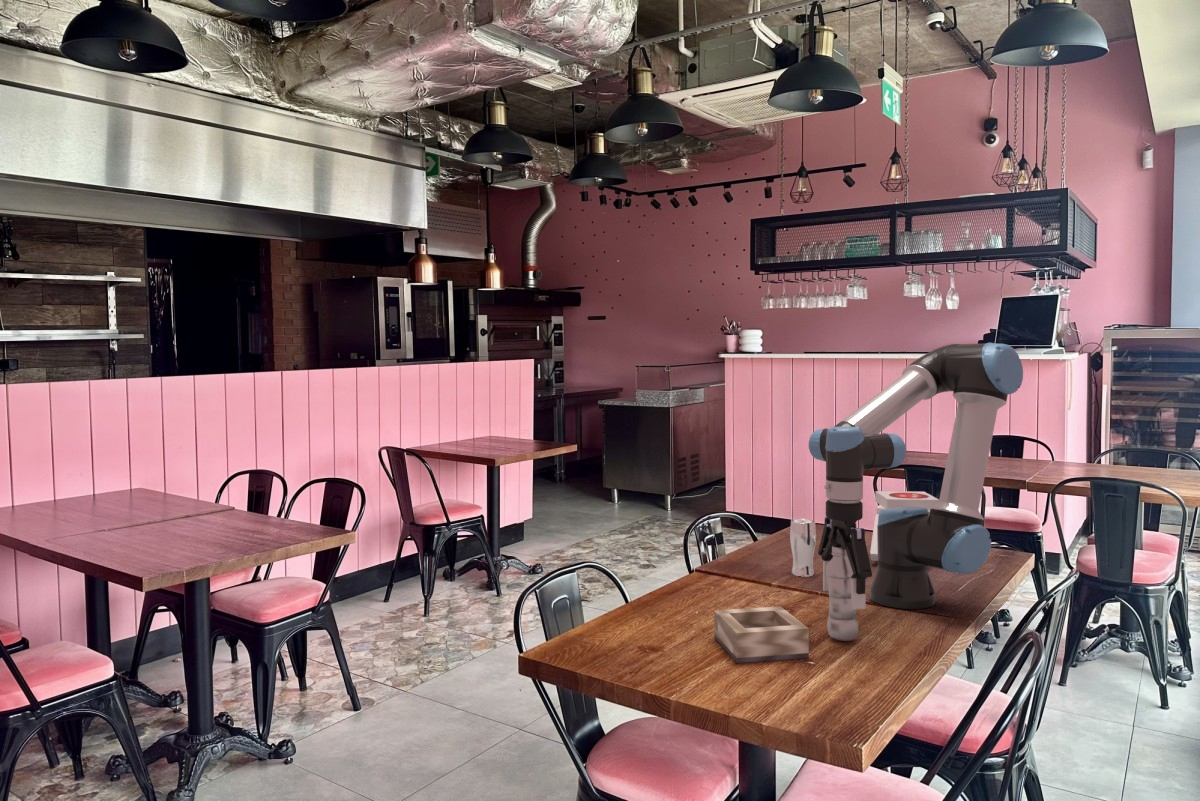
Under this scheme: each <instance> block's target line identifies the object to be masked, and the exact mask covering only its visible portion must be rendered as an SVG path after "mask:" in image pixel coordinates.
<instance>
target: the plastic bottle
mask: <svg viewBox="0 0 1200 801" xmlns="http://www.w3.org/2000/svg"><path fill="white" fill-rule="evenodd" d="M832 555H833V558H832V559H831V560H830V562H829V563H828V565H827V567H826V575H827V582H828V589H829V591H828V596H829V597H828V599H829V603H828V616H827V622H826V627H827V634H828V635H829V637H830V638H831V639H834V640H836V641H841V642H842V641H843V642H848V641H854V640H856V639H857V637H858V636H859V629H860V628H859V621H858V618H857V613H856V612H857V609H852V608H851V588H852V578H851V576H852V575H853V571H852V568H851V565H850V562H849V559H848V556H847V552H846V550H845V549H844V548H843V547H842V545H833V546H832Z"/></svg>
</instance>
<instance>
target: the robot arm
mask: <svg viewBox="0 0 1200 801" xmlns="http://www.w3.org/2000/svg"><path fill="white" fill-rule="evenodd" d="M1023 368H1024V367H1023V362H1022V360H1021V358H1020V356H1019V354H1018V352H1017V351H1016V349H1014V348H1013V347H1012V346H1011V345H1009V344H1005V343H994V342H987V343H986V342H985V343H951V344H947V345H943V346H940V347H937V348H935V349H933V350H931V351H929V352H927V353H925V354H923V355H922V356H920V357H918V358H917V359H916V360H914V361H912V362H911V363H910V364H909V365H907V366H906V367H904V369H902V370H903V371H902V372H901V376H900V377H898V378H897V379H895V380H894V381H893V382H892V383H889V385H888V386H886V387H884V388H883V389H882V390H881V391H879V392H878V393H876V394H875V395H874V396H873V397H872V398H870V399H869V400H868V401H866V402H865V403H863V404H862V405H860V406H859V407H858V408H857V409H856V410H855V411H853V412H852V413H850V414H849V415H848V416H846V417H845V418H844V419H843V420H841V421H840V422H838V423H837V424H836V425H834V426H832V427H829V428H818V429H816V430H815V431H813V432H812V433H811V435H810V436H809V440H808V450H809V453H810V455H811V456H812V457H813V458H814V459H815V460H819V461H822V462H825V485H824V487H823V488H824V489H825V497H826V498H827V500H826V501H825V517H824V525H823V530H822V534H821V539H820V543H819V546H818V552H817V554H818V556H821V560H822V561H823V562H822V591H823V592H829V589H828V582H827V575H826V567H827V565H828V563H829V562H830V560H831V559H832V558H833V555H832V546H833V545H842V547H843V548H844V549H845V550H846V552H847V556H848V559H849V562H850V565H851V568H852V571H853V575H852V576H851V578H852V588H851V608H852V609H856V610H865V609H866V590H867V589H866V588H867V587H866V585H867V584H866V582H867V581H866V578H872V577H873V580H872V583H871V586H870V589H869V599H870V600H871V601H872V602H874V603H876V604H879V605H882V606H886V607H889V608H895V609H903V610H904V609H905V610H906V609H907V610H919V609H928V608H930V607H931V608H932V607H933V606H935V604H936V594H935V591H934V587H933V583H932V579H931V577H930V574H929V570H928V569H929V568H928V567H932V568H935V569H939V570H943V571H946V572H949V573H953V574H955V573H956V574H962V575H969V574H972V573H975V572H977V571H978V570H979V569H980V568H982V567H983V565H984V564H985V562H986V561H987V560H988V557H989V555H990V552H991V550H992V549H991V548H992V539H991V538H990V537H991V535H990V532H989V531H988V529H987V528H986V527H984V520H985V518H984V517H983V515H982V514H981V513H980V510H979V508H980V502H981V498H982V492H983V488H984V483H985V477H986V473H987V472H986V471H987V466H988V463H989V462H988V461H989V457H990V452H991V446H992V440H993V435H994V431H995V425H996V419H997V415H998V411H999V409H1001V408H1002V407H1004V406H1005V405H1006V404H1007V402H1008V401H1007V400H1008V396H1009V395H1012V394H1014V393H1016V392H1018V390H1019V389H1020V388H1021V386H1022V383H1023V381H1024V380H1023V379H1024V369H1023ZM946 392H953V393H952V397H953V398H954V399H955V401H956V402H957V406H956V407H957V409H956V413H955V418H954V424H953V428H952V432H951V433H952V434H951V439H950V442H949V448H948V454H947V458H946V463H945V468H944V474H943V479H942V483H941V489H940V494H939V498H938V499H939V502H938V503H937V504H935V505H934V506H932V507H931V508H930V513H929V512H928V509H927V508H925V507H897V508H888V509H884V510H882V511H880V513H879V516H878V525H877V539H878V561H877V568H876V571H875V574H874V576H873V572H872V566H871V562H870V561H871V560H870V558H869V556H870V555H869V553H868V548H867V543H866V534H865V533H866V532H865V528H863V527H860V528H859V527H858V528H857V521H859V520H862V519H863V515H864V514H863V512H864V511H863V508H864V507H863V504H864V503H863V502H862V501H861V500H862V499H864V471H868V470H870V471H871V470H879V469H880V470H883V469H886V470H888V469H891V468H896V467H898V466H900V465H902V464H903V463H904V461H905V459H906V456H907V447H906V444H905V441H904V440H903V439H902V437H901V436H899V435H898V434H895V433H888V432H887V433H885V432H883V431H884V430H885V429H886V428H887V427H889V426H890V425H891V424H893V423H894V422H895V421H897V420H898V419H900V418H901V417H902V416H903V415H905V414H906V413H907V412H908V411H910V410H911V409H912V408H914V407H915V406H916V405H917V404H919V403H920V402H922V401H924V400H925V401H926V400H930V399H932V398H934V397H935V396H936V395H938V394H941V393H946ZM881 432H882V433H881Z"/></svg>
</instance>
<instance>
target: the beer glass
mask: <svg viewBox="0 0 1200 801" xmlns="http://www.w3.org/2000/svg"><path fill="white" fill-rule="evenodd" d="M816 530H817V528H816V521H815V520H813V519H810V518H793V519H791V520H790V530H789V531H790V532H789V537H790V538H789V540H790V547H791V548H790V550H791V553H792V568H791V569H792V570H791V575H792V574H793V575H792V576H794V575H795V576H794V577H798V576H801V577H800V578H810V576H811V577H814V576H813V575H815V571H814V570H815V569H814V564H813V563H814V554H815V549H816V542H817V540H816V539H817V531H816Z"/></svg>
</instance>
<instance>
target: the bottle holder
mask: <svg viewBox="0 0 1200 801" xmlns="http://www.w3.org/2000/svg"><path fill="white" fill-rule="evenodd" d="M713 614H714V615H713V616H714V618H713V619H714V623H713V625H714V631H713V632H714V634H713V635H714V637H713V638H714V639H715V640H716V641H717V643H719V645H720V646H721V647H722V648H723V649H724V650H725V652H727V654H728V655H729V657H731V658H732V659H733V661H735V663H736V664H740V663H741V664H742V663H753V662H754V663H756V662H767V661H768V662H771V661H784V660H797V659H798V660H799V659H809V657H810V656H809V655H810V654H809V653H810V652H809V649H810V644H809V643H810V642H809V641H810V640H809V636H810V634H809V633H810V630H809V629H810V628H809V627H808V626H806V625H805V624H804V623H802V622H801V621H800V620H798V618H796V617H795V616H793V615H792V614H791V613H790V612H788V611H787V610H786V609H784V607H782V606H780V605H779V606H766V607H763V606H762V607H751V608H750V607H748V608H735V609H734V608H732V609H731V608H730V609H716V610H714V613H713Z"/></svg>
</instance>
